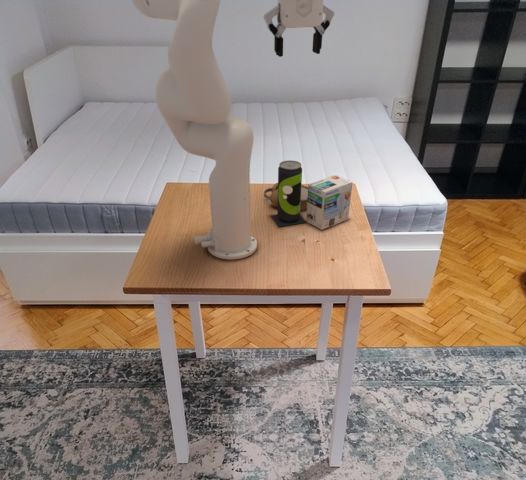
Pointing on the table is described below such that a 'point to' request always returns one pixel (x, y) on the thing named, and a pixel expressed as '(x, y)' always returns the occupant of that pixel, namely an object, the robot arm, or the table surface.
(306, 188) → the alarm clock
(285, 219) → the beverage can
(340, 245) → the table surface
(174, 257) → the table surface
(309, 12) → the robot arm
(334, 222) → the light bulb box
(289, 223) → the mat
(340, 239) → the table surface
